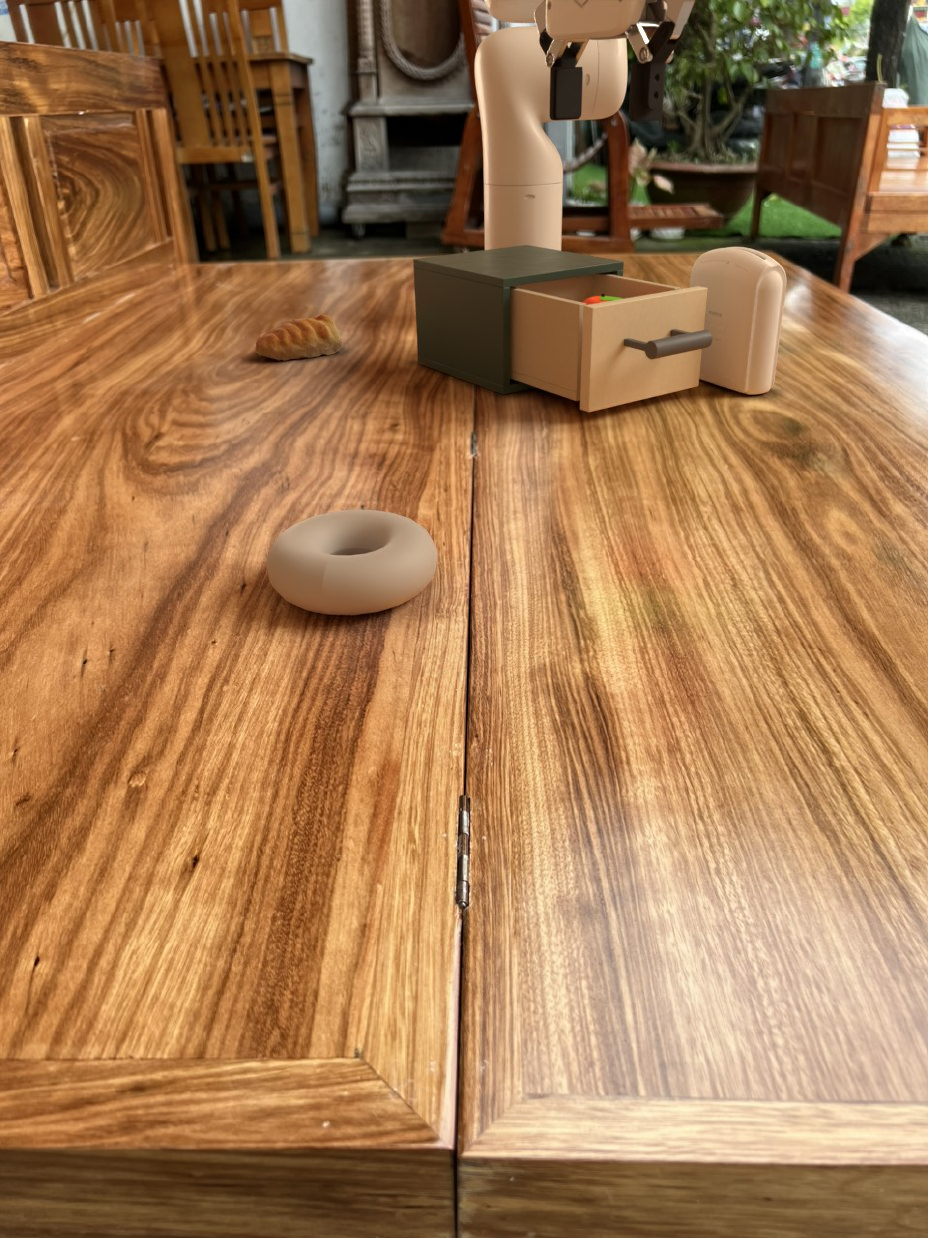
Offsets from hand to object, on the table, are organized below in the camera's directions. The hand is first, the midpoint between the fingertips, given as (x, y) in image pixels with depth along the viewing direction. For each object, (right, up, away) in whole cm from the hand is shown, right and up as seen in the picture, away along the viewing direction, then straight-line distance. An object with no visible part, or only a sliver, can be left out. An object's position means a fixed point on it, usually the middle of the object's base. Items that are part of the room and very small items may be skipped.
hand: (603, 119), depth 81 cm
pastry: (-30, -12, +28) cm, 43 cm away
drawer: (+2, -20, +9) cm, 22 cm away
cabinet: (-6, -15, +20) cm, 26 cm away
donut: (-18, -40, -24) cm, 50 cm away
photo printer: (+14, -19, +13) cm, 27 cm away
